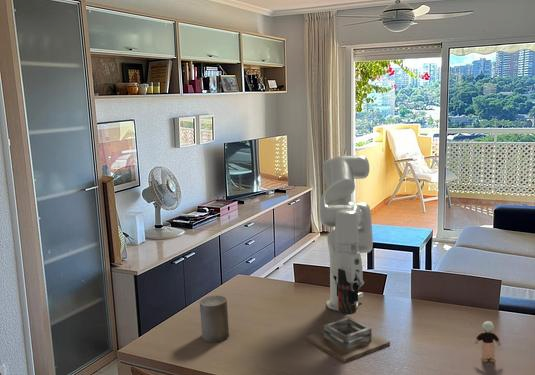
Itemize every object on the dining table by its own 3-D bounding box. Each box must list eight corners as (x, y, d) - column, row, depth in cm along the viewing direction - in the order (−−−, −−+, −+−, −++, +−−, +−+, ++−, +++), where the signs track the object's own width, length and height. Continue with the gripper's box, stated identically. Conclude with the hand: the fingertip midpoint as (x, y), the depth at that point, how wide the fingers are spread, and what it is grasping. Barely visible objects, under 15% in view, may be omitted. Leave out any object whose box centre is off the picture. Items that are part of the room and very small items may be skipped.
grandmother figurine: (495, 356, 166) (497, 318, 164) (501, 362, 163) (503, 323, 160) (471, 357, 166) (473, 319, 164) (477, 363, 162) (478, 325, 160)
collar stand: (350, 324, 193) (350, 310, 192) (389, 345, 176) (390, 329, 175) (306, 339, 182) (306, 324, 181) (344, 362, 166) (344, 346, 165)
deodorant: (355, 314, 173) (355, 271, 171) (337, 314, 175) (337, 270, 172) (356, 307, 179) (356, 265, 177) (339, 307, 180) (338, 265, 178)
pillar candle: (233, 332, 190) (231, 292, 187) (222, 344, 180) (219, 303, 178) (209, 329, 193) (206, 290, 190) (197, 341, 184) (194, 300, 181)
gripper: (373, 250, 168) (373, 303, 171) (338, 239, 182) (339, 288, 185) (355, 254, 164) (356, 309, 167) (321, 243, 178) (322, 293, 181)
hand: (347, 298), depth 176 cm, fingers closed on deodorant, 5 cm apart
